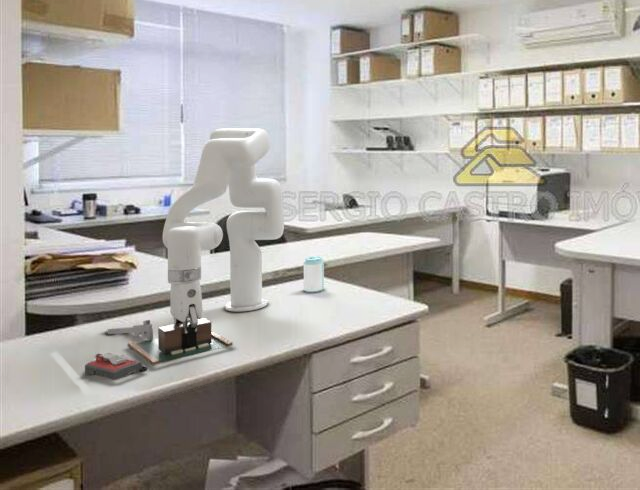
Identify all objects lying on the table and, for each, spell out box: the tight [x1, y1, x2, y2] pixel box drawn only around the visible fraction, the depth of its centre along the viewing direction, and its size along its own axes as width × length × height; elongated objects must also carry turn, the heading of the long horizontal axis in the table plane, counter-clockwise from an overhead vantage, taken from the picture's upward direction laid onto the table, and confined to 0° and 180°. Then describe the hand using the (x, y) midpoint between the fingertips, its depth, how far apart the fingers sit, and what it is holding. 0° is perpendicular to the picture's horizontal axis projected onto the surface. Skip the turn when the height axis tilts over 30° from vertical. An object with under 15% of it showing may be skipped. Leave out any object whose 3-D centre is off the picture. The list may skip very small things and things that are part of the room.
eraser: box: [157, 317, 212, 354], centre depth 147 cm, size 5×11×6 cm, turn 137°
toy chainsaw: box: [84, 352, 148, 380], centre depth 134 cm, size 9×4×20 cm
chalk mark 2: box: [197, 343, 209, 348], centre depth 147 cm, size 1×2×1 cm, turn 137°
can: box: [303, 256, 325, 293], centre depth 209 cm, size 7×7×12 cm
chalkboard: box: [127, 330, 233, 366], centre depth 149 cm, size 20×18×2 cm
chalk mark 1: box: [171, 349, 183, 355], centre depth 143 cm, size 1×2×1 cm, turn 137°
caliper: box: [104, 319, 154, 341], centre depth 157 cm, size 20×1×6 cm, turn 63°
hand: (185, 344), depth 147 cm, fingers closed on eraser, 5 cm apart
